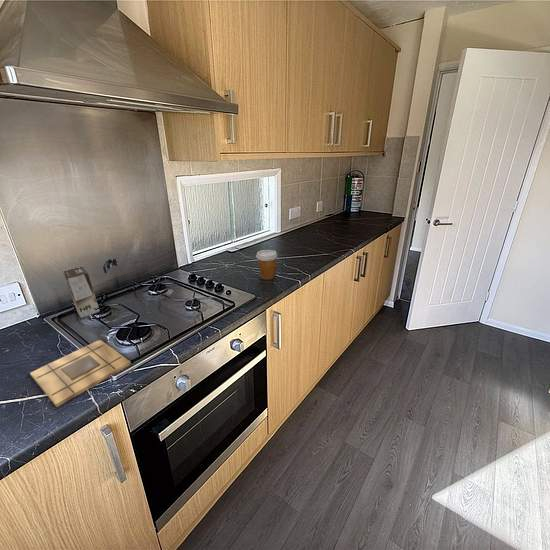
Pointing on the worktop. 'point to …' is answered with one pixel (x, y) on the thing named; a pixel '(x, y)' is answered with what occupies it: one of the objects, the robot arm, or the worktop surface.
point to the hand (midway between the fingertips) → (85, 272)
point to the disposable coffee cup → (267, 263)
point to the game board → (78, 371)
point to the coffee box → (81, 291)
